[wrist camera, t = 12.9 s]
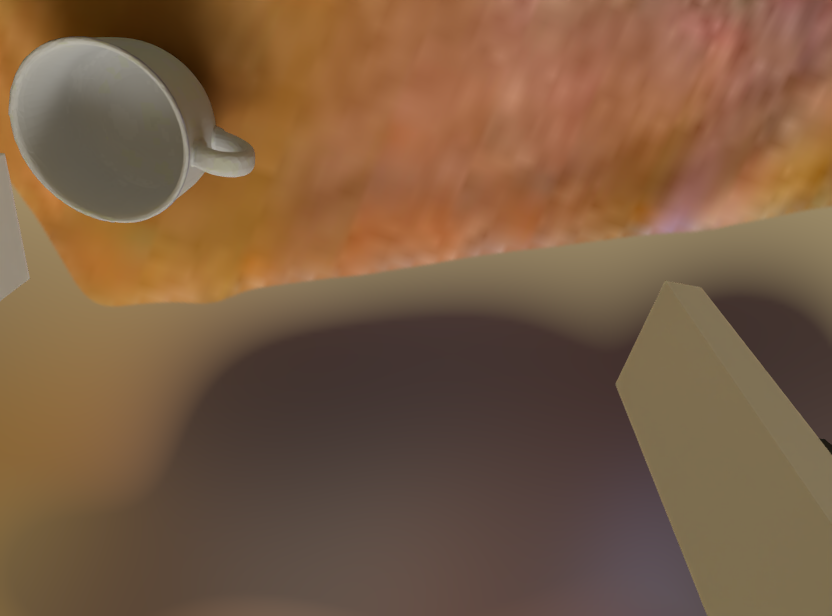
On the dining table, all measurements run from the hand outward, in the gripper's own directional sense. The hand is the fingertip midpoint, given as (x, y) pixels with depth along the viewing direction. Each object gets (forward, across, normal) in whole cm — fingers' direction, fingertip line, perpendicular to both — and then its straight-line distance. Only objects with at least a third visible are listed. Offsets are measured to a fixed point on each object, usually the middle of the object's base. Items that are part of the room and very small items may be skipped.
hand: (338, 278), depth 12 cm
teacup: (+31, +16, +7) cm, 36 cm away
